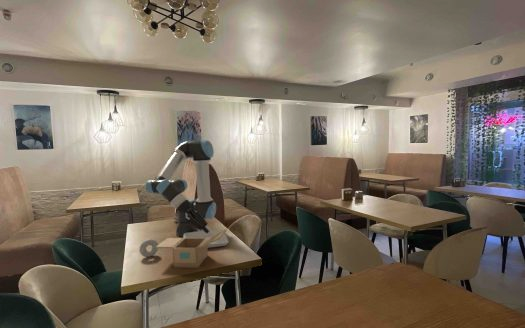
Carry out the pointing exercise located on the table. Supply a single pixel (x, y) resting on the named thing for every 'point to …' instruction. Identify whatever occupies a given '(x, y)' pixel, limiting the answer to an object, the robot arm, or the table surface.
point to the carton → (186, 251)
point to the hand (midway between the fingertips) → (213, 236)
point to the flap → (213, 238)
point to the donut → (147, 243)
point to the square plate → (202, 234)
